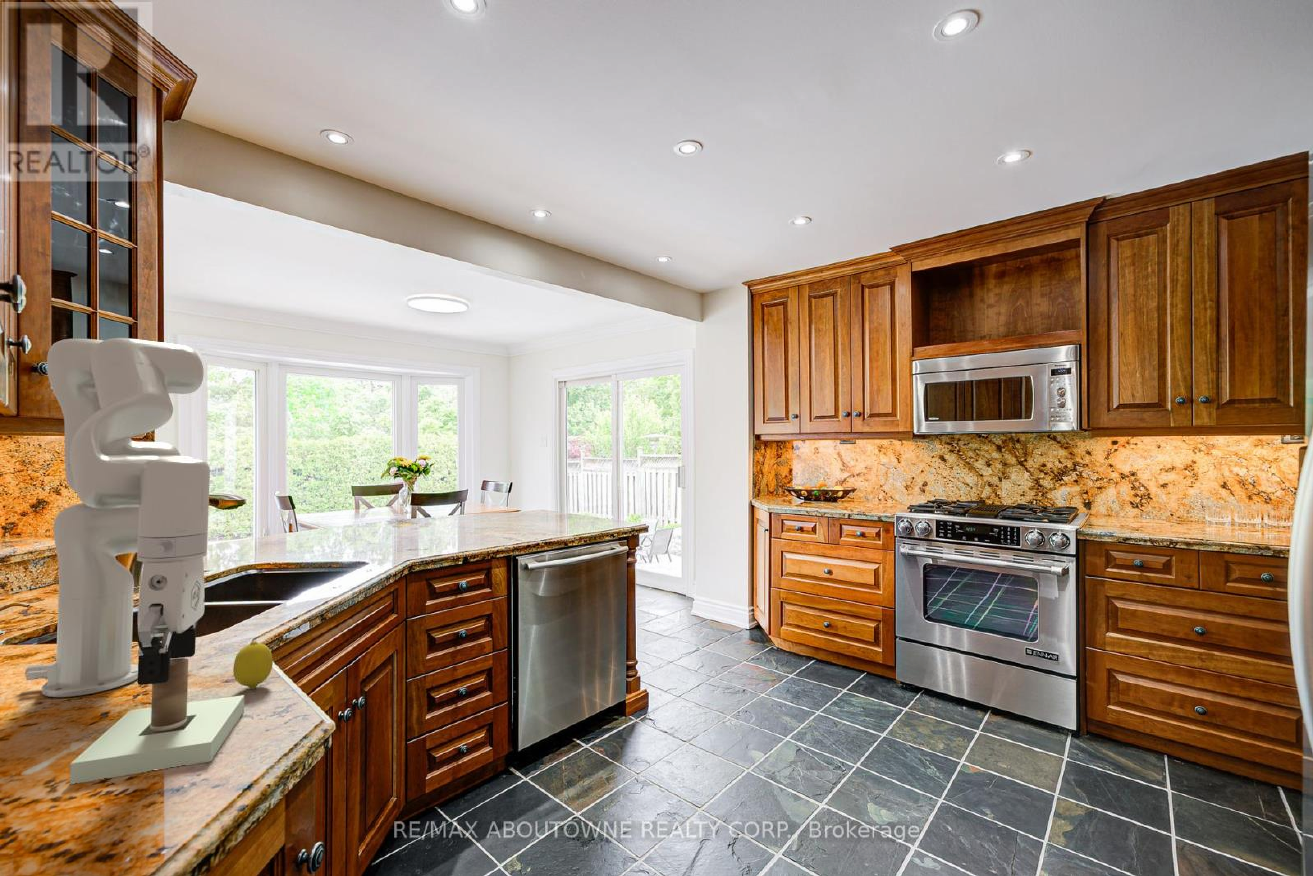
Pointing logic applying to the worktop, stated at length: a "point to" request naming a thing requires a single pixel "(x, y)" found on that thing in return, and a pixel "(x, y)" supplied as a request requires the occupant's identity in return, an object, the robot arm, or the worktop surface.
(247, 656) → the lemon
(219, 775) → the worktop surface
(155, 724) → the peg
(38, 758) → the worktop surface
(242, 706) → the board
